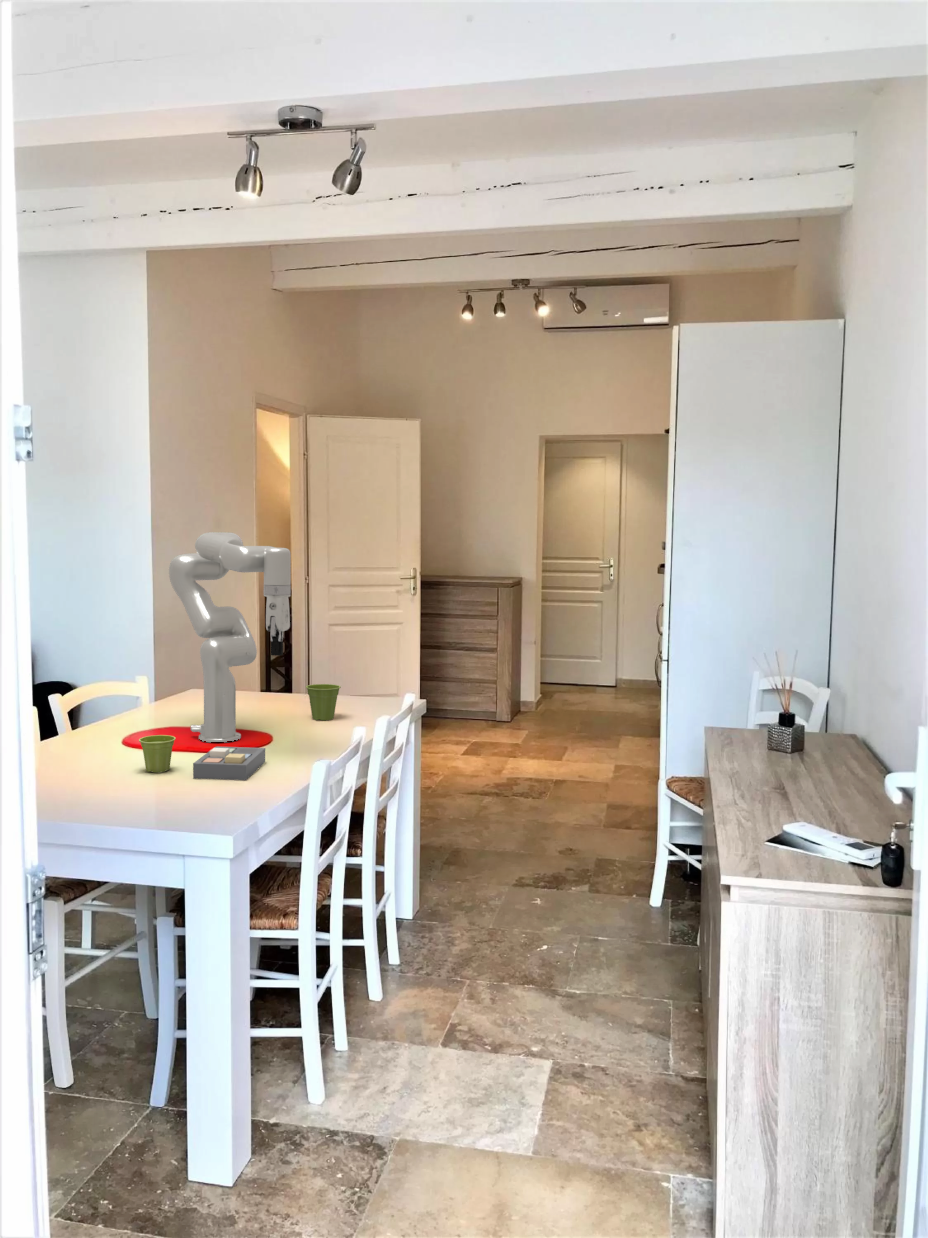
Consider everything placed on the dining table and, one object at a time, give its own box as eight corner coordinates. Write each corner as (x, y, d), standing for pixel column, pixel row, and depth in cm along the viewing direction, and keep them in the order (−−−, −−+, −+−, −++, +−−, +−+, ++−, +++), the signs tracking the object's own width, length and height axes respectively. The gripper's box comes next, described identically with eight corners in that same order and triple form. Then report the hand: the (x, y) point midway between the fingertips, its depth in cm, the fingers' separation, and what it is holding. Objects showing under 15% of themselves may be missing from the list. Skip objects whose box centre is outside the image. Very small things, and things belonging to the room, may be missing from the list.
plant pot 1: (142, 776, 267) (142, 743, 266) (136, 768, 275) (136, 736, 274) (179, 772, 271) (178, 740, 270) (171, 764, 280) (171, 733, 279)
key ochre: (225, 768, 267) (225, 757, 267) (229, 764, 271) (229, 753, 271) (240, 769, 267) (240, 757, 266) (245, 765, 271) (245, 754, 271)
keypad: (193, 778, 266) (193, 763, 265) (216, 760, 286) (216, 746, 285) (246, 780, 265) (246, 765, 265) (265, 762, 285) (265, 748, 284)
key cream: (209, 762, 273) (209, 751, 273) (214, 758, 277) (214, 747, 277) (224, 762, 273) (224, 751, 273) (229, 759, 277) (229, 748, 277)
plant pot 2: (347, 718, 349) (347, 686, 348) (325, 723, 339) (325, 690, 338) (321, 714, 355) (321, 682, 354) (298, 719, 345) (298, 686, 344)
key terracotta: (202, 773, 267) (202, 761, 267) (207, 769, 272) (207, 758, 271) (218, 773, 267) (218, 762, 267) (222, 769, 271) (222, 758, 271)
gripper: (284, 593, 281) (283, 659, 283) (295, 589, 296) (295, 652, 298) (257, 592, 282) (257, 658, 284) (270, 589, 297) (270, 651, 298)
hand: (276, 655), depth 291 cm, fingers closed
